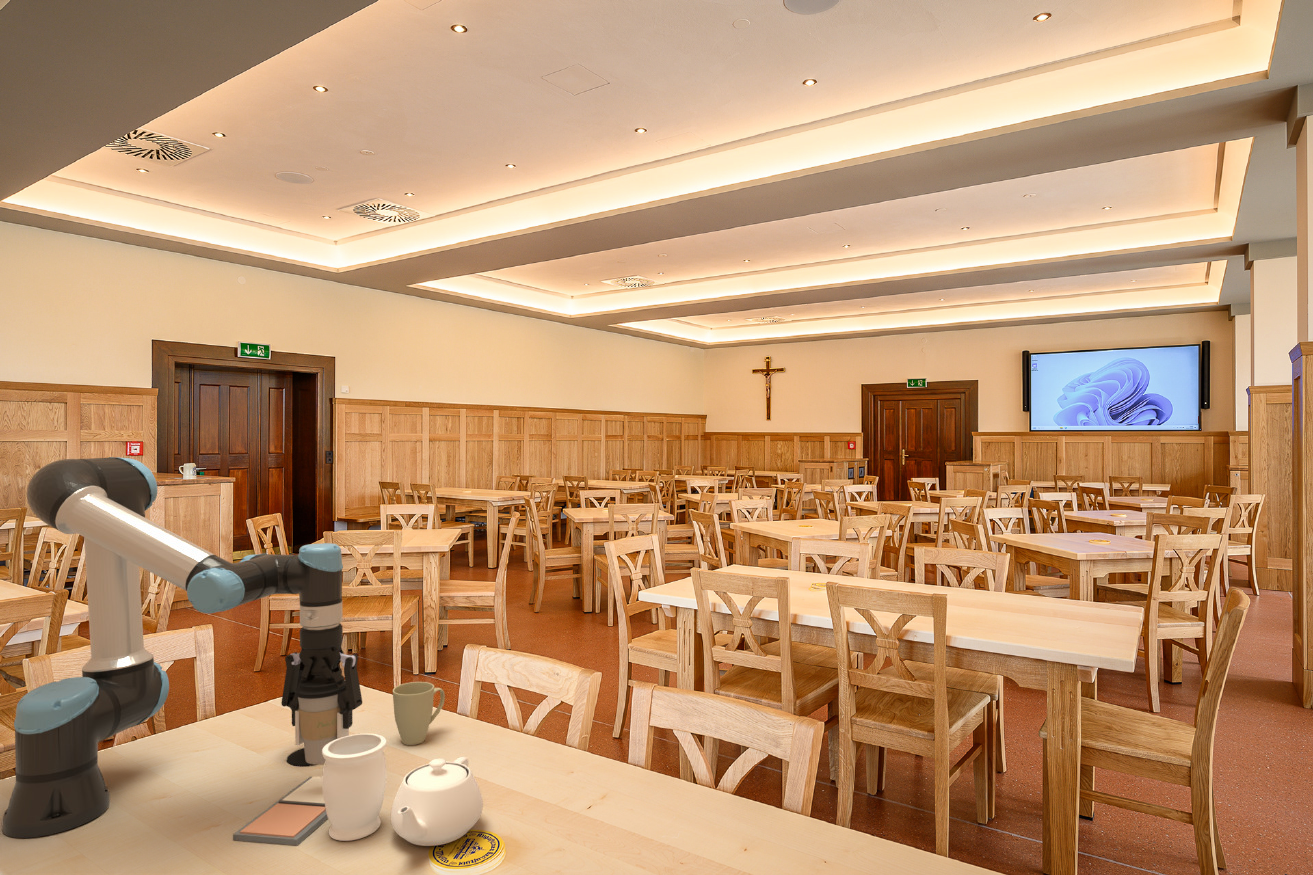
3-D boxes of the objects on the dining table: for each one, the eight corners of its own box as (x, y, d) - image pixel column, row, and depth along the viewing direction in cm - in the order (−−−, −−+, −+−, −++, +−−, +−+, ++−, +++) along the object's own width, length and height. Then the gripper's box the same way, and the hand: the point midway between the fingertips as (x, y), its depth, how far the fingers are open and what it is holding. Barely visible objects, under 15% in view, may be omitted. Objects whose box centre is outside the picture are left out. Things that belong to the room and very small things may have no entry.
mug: (431, 749, 166) (431, 694, 166) (386, 748, 166) (386, 694, 166) (445, 729, 176) (445, 678, 176) (403, 729, 177) (403, 678, 177)
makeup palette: (232, 839, 128) (232, 831, 128) (310, 781, 150) (310, 773, 150) (297, 845, 126) (297, 836, 126) (365, 785, 148) (365, 777, 148)
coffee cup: (328, 770, 138) (328, 689, 138) (283, 766, 140) (283, 686, 140) (358, 749, 147) (358, 673, 147) (316, 745, 149) (315, 670, 149)
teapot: (427, 795, 144) (427, 731, 144) (504, 801, 142) (503, 737, 142) (354, 869, 120) (353, 793, 120) (445, 878, 117) (445, 800, 117)
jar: (346, 851, 125) (346, 761, 124) (309, 834, 130) (309, 748, 130) (399, 823, 134) (399, 740, 133) (362, 808, 139) (362, 728, 139)
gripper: (258, 628, 141) (259, 748, 141) (361, 631, 138) (362, 754, 138) (284, 618, 149) (285, 733, 149) (382, 621, 146) (382, 738, 146)
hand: (322, 743), depth 144 cm, fingers closed on coffee cup, 8 cm apart
